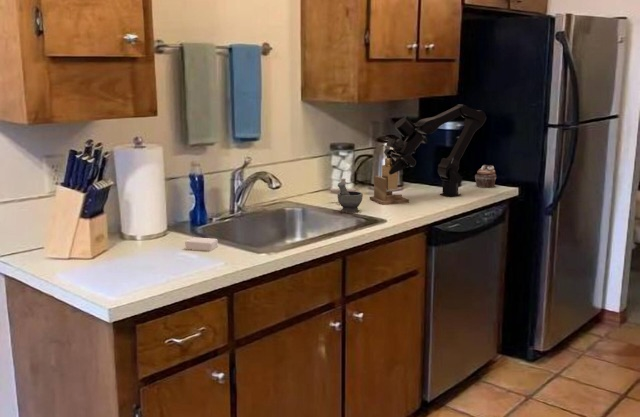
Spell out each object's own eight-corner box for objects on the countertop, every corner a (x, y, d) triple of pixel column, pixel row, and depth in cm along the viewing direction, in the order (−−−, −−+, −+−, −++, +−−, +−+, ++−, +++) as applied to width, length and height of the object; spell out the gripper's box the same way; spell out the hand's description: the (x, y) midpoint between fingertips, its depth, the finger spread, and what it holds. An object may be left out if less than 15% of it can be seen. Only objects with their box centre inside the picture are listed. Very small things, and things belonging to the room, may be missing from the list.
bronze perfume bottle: (391, 186, 279) (391, 157, 277) (397, 189, 274) (397, 158, 272) (381, 187, 278) (381, 158, 275) (387, 190, 273) (387, 159, 270)
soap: (218, 247, 210) (218, 238, 210) (211, 252, 205) (210, 242, 204) (192, 245, 213) (192, 236, 212) (184, 250, 208) (184, 240, 207)
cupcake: (475, 184, 314) (476, 163, 312) (496, 185, 311) (497, 163, 309) (473, 187, 305) (474, 166, 303) (495, 188, 302) (496, 166, 300)
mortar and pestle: (350, 207, 266) (350, 177, 264) (367, 210, 260) (367, 180, 257) (330, 211, 259) (329, 181, 256) (347, 215, 252) (347, 184, 249)
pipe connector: (356, 200, 279) (356, 176, 277) (354, 205, 269) (354, 180, 267) (332, 200, 280) (332, 176, 278) (330, 205, 270) (330, 180, 268)
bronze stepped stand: (395, 197, 285) (395, 173, 283) (408, 202, 274) (409, 177, 272) (369, 199, 281) (369, 175, 278) (382, 204, 270) (382, 180, 267)
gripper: (388, 129, 281) (364, 157, 279) (409, 133, 264) (384, 163, 262) (404, 146, 286) (381, 174, 284) (426, 152, 269) (402, 181, 267)
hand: (386, 172), depth 274 cm, fingers closed on bronze perfume bottle, 5 cm apart
